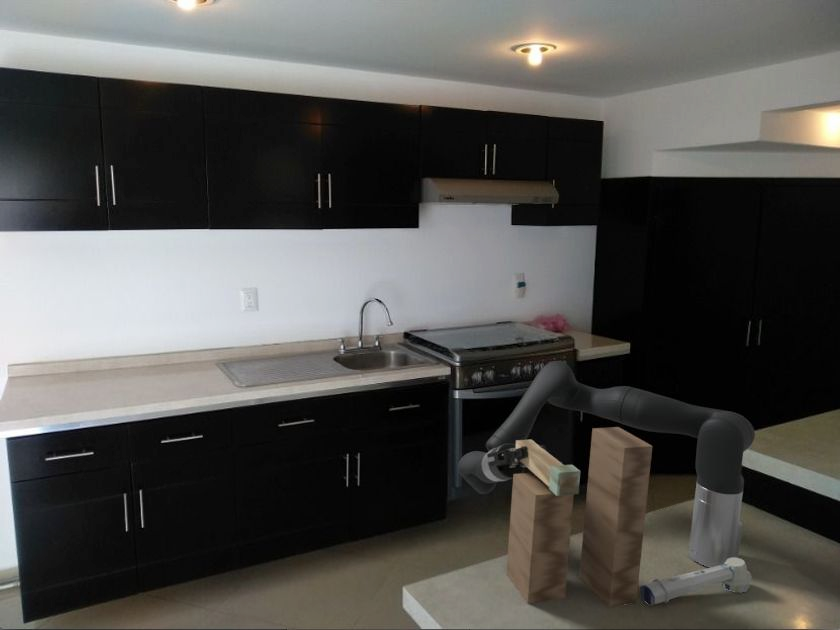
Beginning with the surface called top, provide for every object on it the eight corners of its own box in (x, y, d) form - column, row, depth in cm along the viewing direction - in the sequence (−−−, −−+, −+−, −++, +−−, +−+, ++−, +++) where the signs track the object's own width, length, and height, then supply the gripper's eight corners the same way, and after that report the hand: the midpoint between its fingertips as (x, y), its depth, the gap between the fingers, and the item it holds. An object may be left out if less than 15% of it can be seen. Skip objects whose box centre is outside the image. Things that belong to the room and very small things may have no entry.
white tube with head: (636, 578, 124) (737, 547, 131) (637, 608, 125) (737, 575, 132) (654, 593, 119) (758, 560, 126) (655, 624, 120) (757, 589, 127)
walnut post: (604, 572, 132) (618, 427, 127) (636, 603, 122) (652, 446, 117) (579, 575, 130) (592, 428, 126) (609, 607, 120) (624, 447, 115)
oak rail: (532, 455, 132) (533, 435, 131) (578, 493, 114) (580, 471, 113) (512, 456, 131) (514, 436, 130) (556, 495, 113) (558, 472, 112)
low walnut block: (541, 570, 132) (549, 471, 129) (564, 598, 122) (573, 491, 119) (506, 574, 130) (513, 474, 126) (527, 603, 120) (535, 495, 117)
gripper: (471, 448, 140) (500, 434, 125) (528, 444, 144) (563, 430, 129) (475, 482, 138) (505, 472, 122) (534, 477, 142) (570, 467, 126)
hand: (535, 450), depth 126 cm, fingers closed on oak rail, 3 cm apart
